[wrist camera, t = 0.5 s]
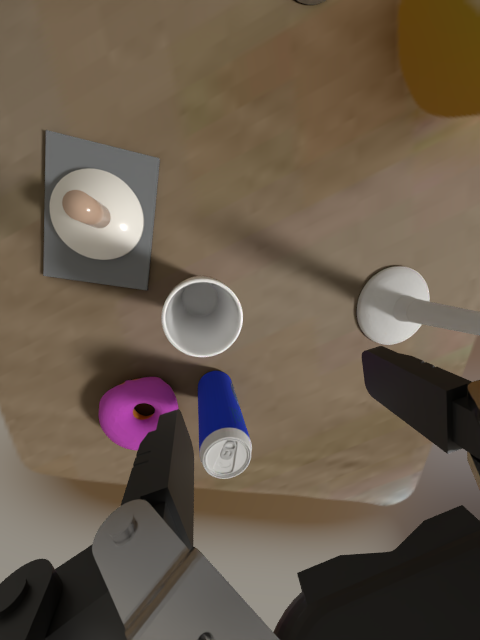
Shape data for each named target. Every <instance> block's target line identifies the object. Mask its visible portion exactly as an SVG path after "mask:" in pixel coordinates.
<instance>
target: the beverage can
mask: <svg viewBox="0 0 480 640" xmlns="http://www.w3.org/2000/svg"><path fill="white" fill-rule="evenodd" d="M198 414H199V455H200V460H201V462H202V464H203V466H204V468H205V470H206V471H207V472H208V473H209V474H210V475H211V476H213V477H216V478H220V479H227V478H232V477H235V476H237V475H239V474H240V473H242V472H243V471H244V470H245V469H246V468H247V466H248V465H249V462H250V459H251V450H252V445H251V441H250V438H249V435H248V431H247V428H246V425H245V422H244V419H243V416H242V413H241V409H240V406H239V403H238V400H237V397H236V394H235V391H234V388H233V384H232V381H231V379H230V377H229V376H228V375H227V374H226V373H224V372H221V371H211V372H208V373H206V374H205V375H204V376H203V377H202V378H201V379H200V381H199V383H198Z"/></svg>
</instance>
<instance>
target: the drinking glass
mask: <svg viewBox="0 0 480 640" xmlns="http://www.w3.org/2000/svg"><path fill="white" fill-rule="evenodd" d="M242 322H243V313H242V308H241V305H240V302H239V300H238V298H237V297H236V295H235V294H234V293H233V291H232V290H231V289H230V288H229V287H228V286H227V285H225V284H224V283H223V282H221V281H219V280H217V279H215V278H212V277H208V276H194V277H190V278H188V279H185V280H183V281H182V282H180V283H179V284H178V285H176V286H175V287H174V288H173V290H172V291H171V292H170V294H169V295H168V297H167V299H166V301H165V303H164V306H163V309H162V327H163V330H164V333H165V335H166V337H167V338H168V340H169V341H170V343H171V344H172V345H173V346H174V347H175V348H177V349H178V350H179V351H181V352H183V353H185V354H187V355H190V356H194V357H209V356H214V355H217V354H219V353H221V352H223V351H225V350H226V349H227V348H229V347H230V346H231V345H232V344H233V343H234V341H235V340H236V339H237V337H238V335H239V333H240V331H241V327H242Z"/></svg>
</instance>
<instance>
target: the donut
mask: <svg viewBox="0 0 480 640" xmlns="http://www.w3.org/2000/svg"><path fill="white" fill-rule="evenodd" d="M140 403H147V404H150V405H152V406H153V407H154V408H155V412H154V414H152V415H149V416H144V415H141V414H139V413H138V412H137V411H135V409H134V407H135V406H136V405H137V404H140ZM177 409H178V404H177V399H176V396H175V394H174V392H173V390H172V388H171V387H170V386H169V385H168V384H167V383H165V382H164V381H163V380H162V379H161V378H158V377H144V378H140V379H134V380H126V381H125V382H124V383H122V384H120V385H118V386H115V387H114V388H112V389H110V390H109V391H107V392H106V393H105V394H104V395H103V397H102V398H101V400H100V403H99V422H100V425H101V428H102V429H103V431H104V433H105V434H106V435H107V437H109V438H110V439H111V440H112V441H113V442H114V443H116V444H117V445H119V446H121V447H124V448H127V449H131V450H138V448H139V445H140V443H141V442H142V440H143V439H144V438H145V436H146V435H147V434H148V432H151V431H154V430H156V427H157V423H158V419H159V416H160V415H161V414H164V413H168V412H171V411H174V410H177Z"/></svg>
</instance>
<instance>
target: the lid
mask: <svg viewBox="0 0 480 640" xmlns="http://www.w3.org/2000/svg"><path fill="white" fill-rule="evenodd" d="M49 207H50V216H51V221H52V224H53V226H54V228H55V230H56V232H57V234H58V235H59V237H60V238H61V239H62V240H63V242H64V243H65V244H66V245H67V246H69V247H70V248H71V249H72V250H74V251H76V252H77V253H79V254H81V255H83V256H86V257H89V258H93V259H100V260H111V259H117V258H120V257H122V256H125V255H126V254H128V253H130V252H131V251H132V250H133V249H134V248H135V247H136V246H137V244H138V243H139V241H140V239H141V237H142V234H143V231H144V214H143V209H142V207H141V204H140V202H139V200H138V198H137V196H136V195H135V193H134V192H133V191H132V190H131V189H130V187H129V186H128V185H127V184H126V183H125V182H124V181H122V180H121V179H120V178H118V177H117V176H115V175H113V174H111V173H109V172H106V171H103V170H99V169H90V168H87V169H80V170H76V171H73V172H71V173H69V174H67V175H66V176H64V177H63V178H62V179H61V180H60V181H59V182H58V183H57V185H56V186H55V188H54V190H53V192H52V194H51V199H50V206H49Z"/></svg>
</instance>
